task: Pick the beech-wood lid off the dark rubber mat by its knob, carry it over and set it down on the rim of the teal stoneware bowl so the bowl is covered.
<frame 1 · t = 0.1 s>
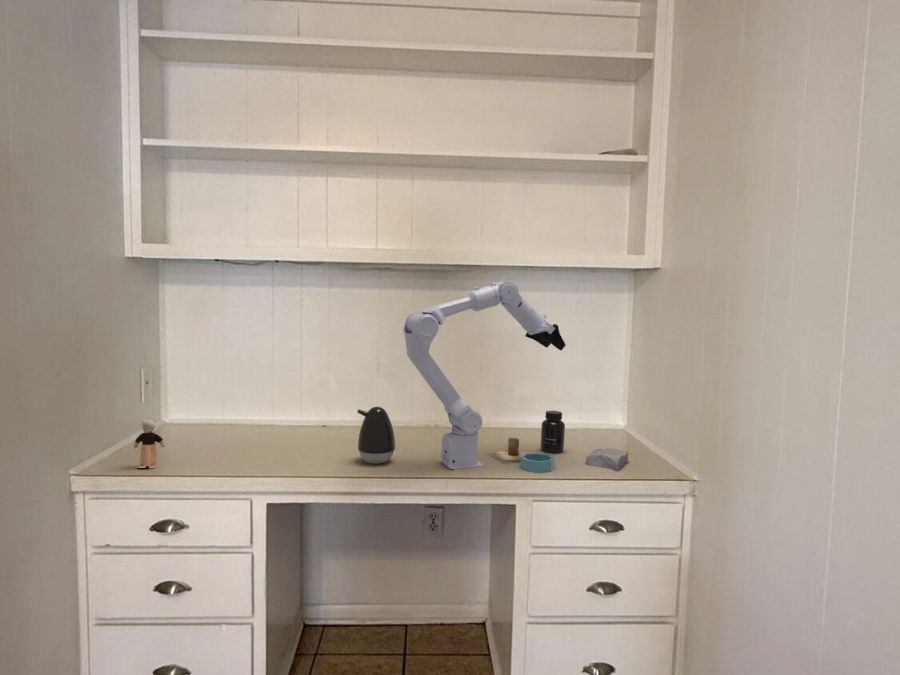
hand: (555, 346, 176), 32 cm above the table, tool tilted 50°, fingers open, 7 cm apart
grandmother figurine: (149, 468, 160), on the table
lid: (513, 457, 175), resting on mat
supplement bottle: (552, 452, 183), on the table
bowl: (537, 469, 165), on the table
mat: (513, 458, 175), on the table
stone block: (605, 465, 172), on the table
pump dispenser: (376, 462, 169), on the table
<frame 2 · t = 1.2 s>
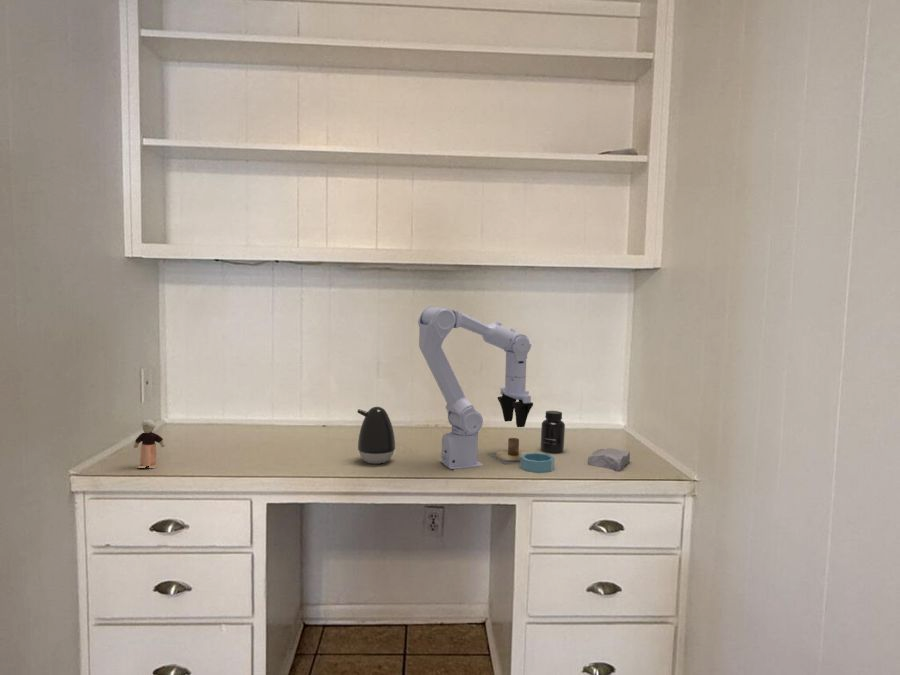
hand: (514, 424, 174), 10 cm above the table, tool pointing down, fingers open, 7 cm apart
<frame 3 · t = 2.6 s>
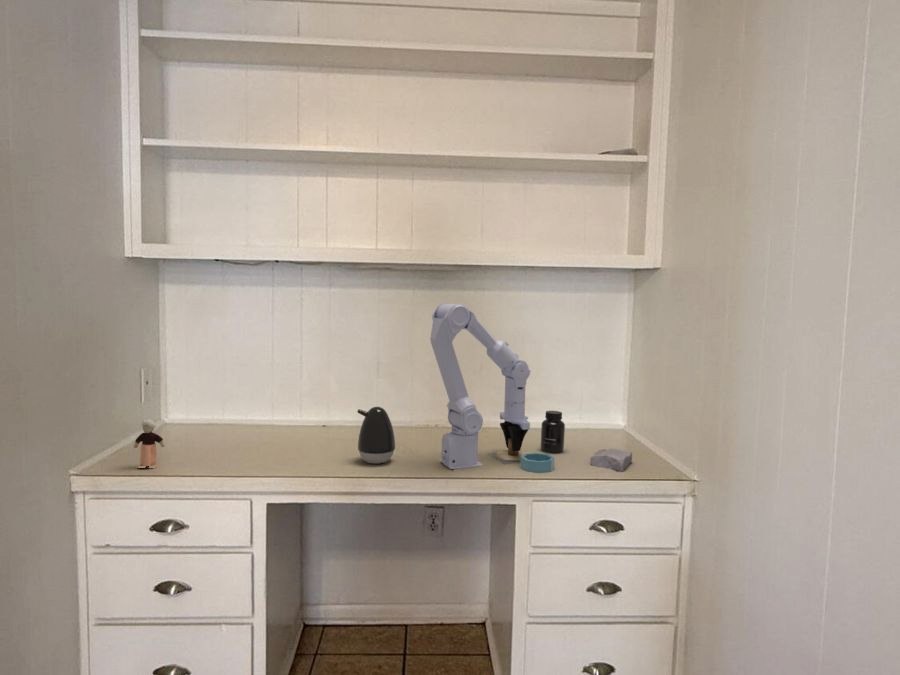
hand: (513, 449, 174), 3 cm above the table, tool pointing down, fingers closed on lid, 3 cm apart
lid: (513, 457, 175), resting on mat, touching gripper
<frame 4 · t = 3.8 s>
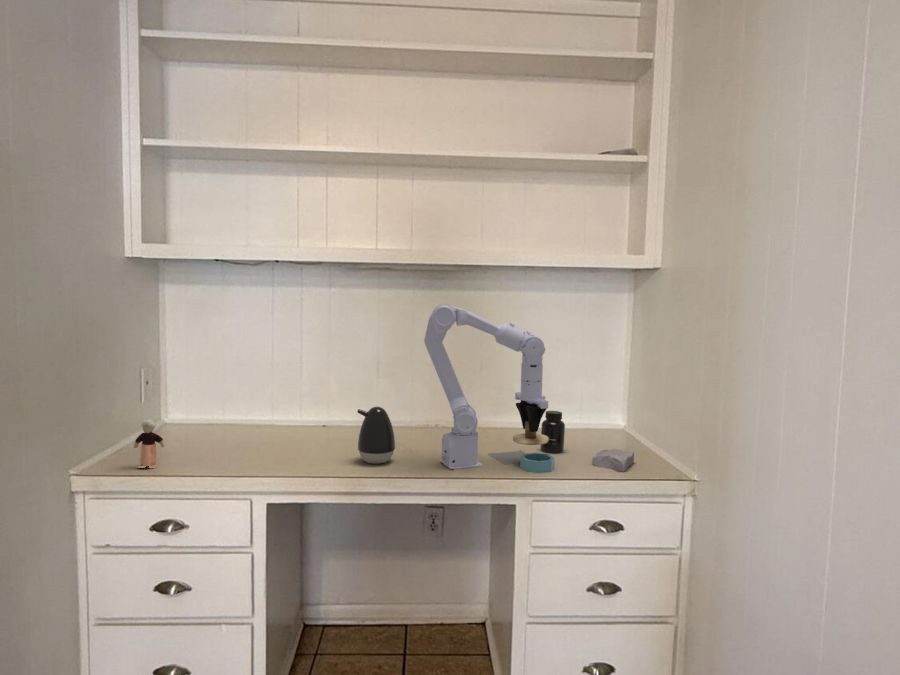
hand: (530, 430, 167), 10 cm above the table, tool pointing down, fingers closed on lid, 3 cm apart
lid: (530, 440, 168), point 7 cm above the table, touching gripper
when the fingers open (7 cm above the table, at t = 4.9 s): lid stays where it is, resting on bowl.
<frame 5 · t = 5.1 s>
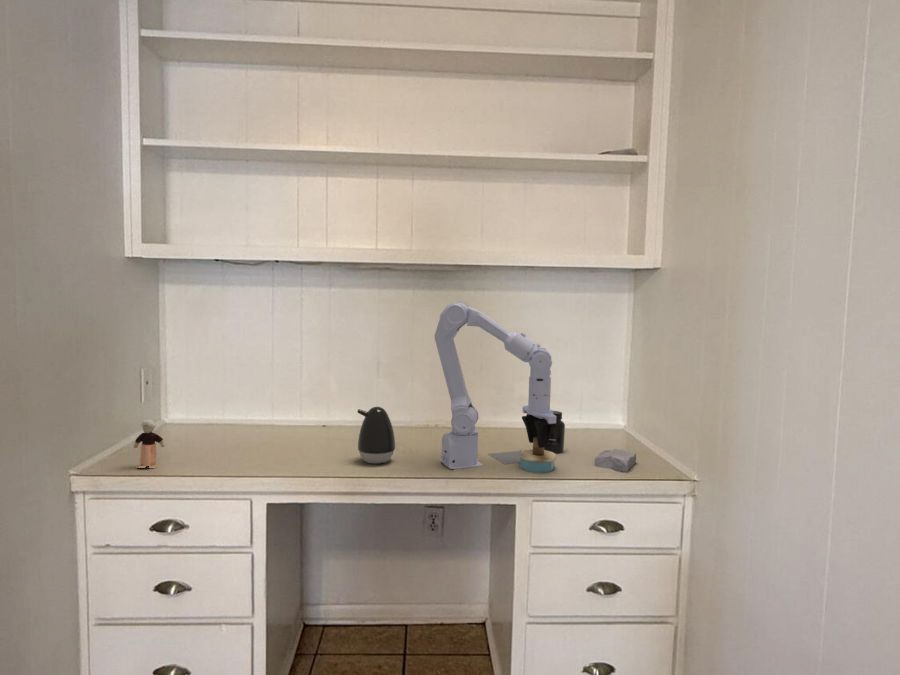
hand: (537, 444, 164), 7 cm above the table, tool pointing down, fingers open, 5 cm apart
lid: (538, 457, 165), point 3 cm above the table, touching bowl
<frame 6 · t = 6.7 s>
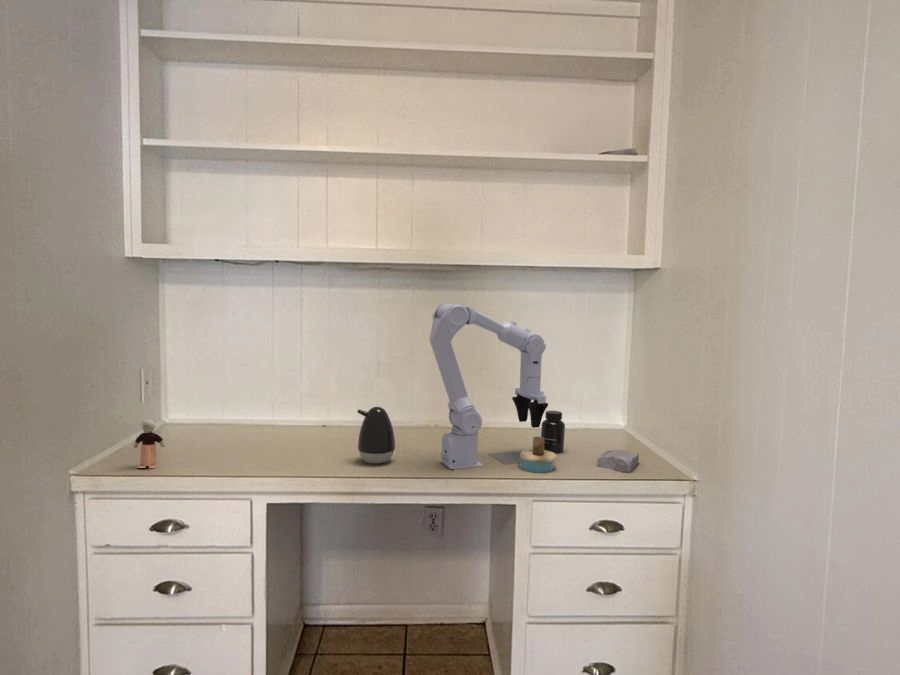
hand: (529, 424, 174), 10 cm above the table, tool pointing down, fingers open, 7 cm apart
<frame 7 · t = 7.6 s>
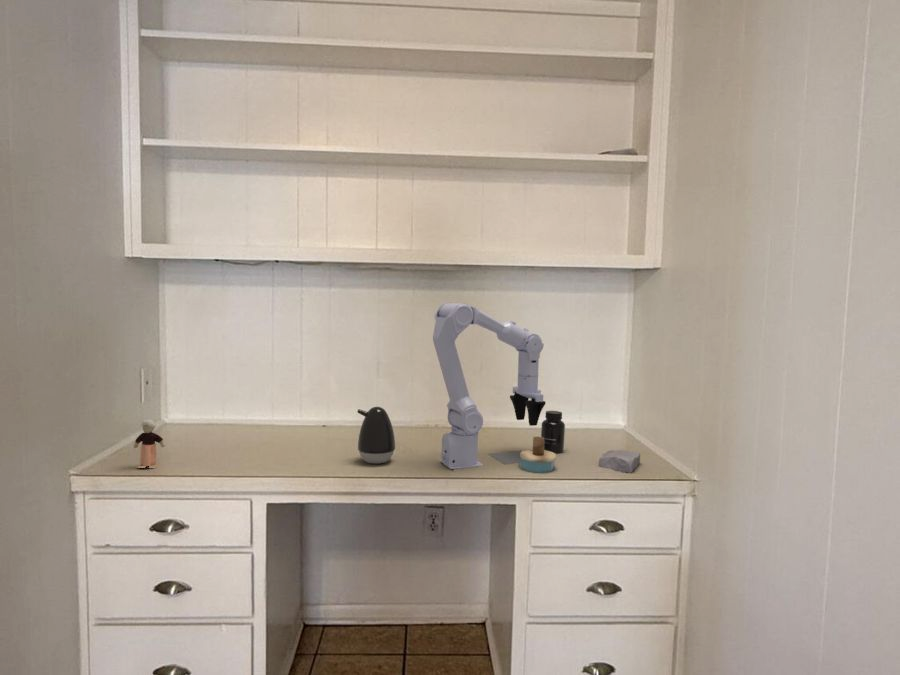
hand: (526, 422, 176), 10 cm above the table, tool pointing down, fingers open, 7 cm apart
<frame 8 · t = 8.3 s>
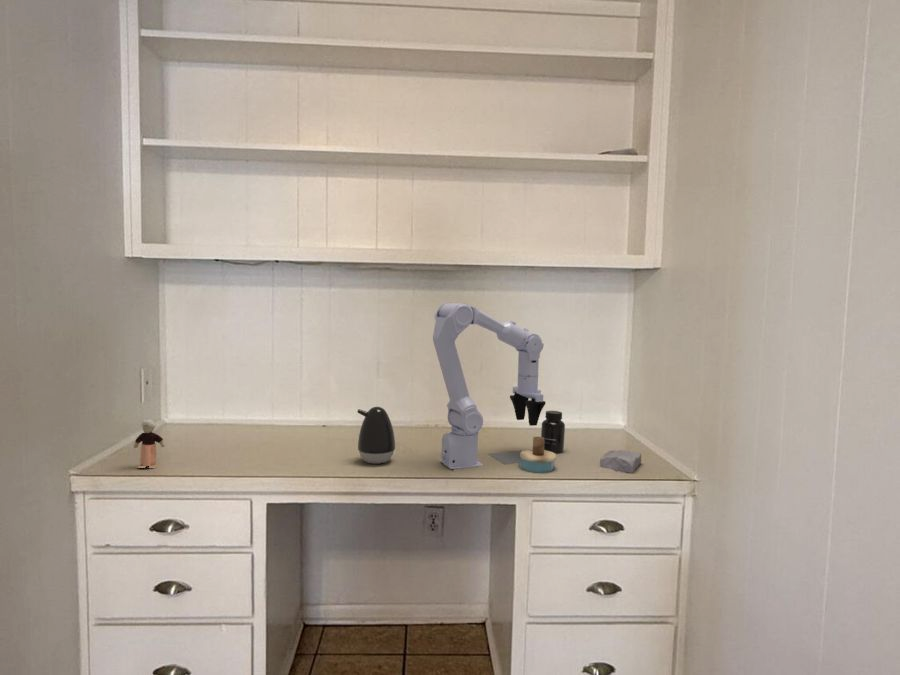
hand: (526, 422, 176), 10 cm above the table, tool pointing down, fingers open, 7 cm apart
at the end: lid 0.2 cm off-centre on the bowl, point 3.2 cm above the bowl's base; lid tilted 0°; the gripper is holding nothing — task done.
